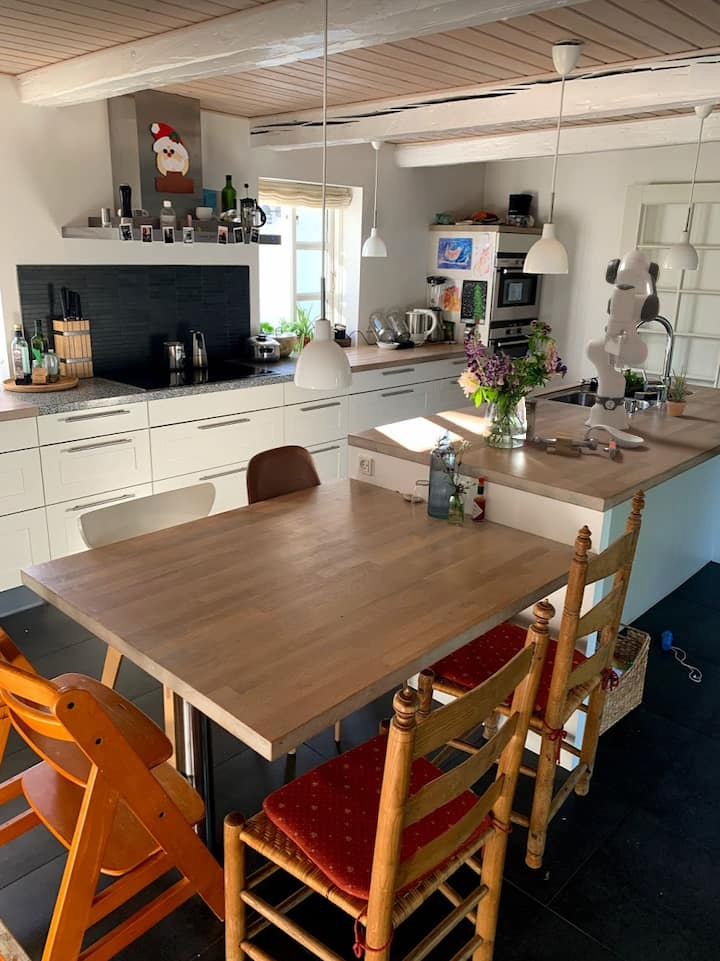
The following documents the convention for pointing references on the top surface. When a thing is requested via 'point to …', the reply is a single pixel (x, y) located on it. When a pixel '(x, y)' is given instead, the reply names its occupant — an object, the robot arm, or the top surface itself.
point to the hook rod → (591, 445)
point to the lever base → (608, 447)
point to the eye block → (563, 445)
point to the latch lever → (612, 449)
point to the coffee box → (530, 417)
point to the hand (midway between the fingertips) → (614, 366)
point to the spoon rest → (617, 436)
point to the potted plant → (677, 396)
